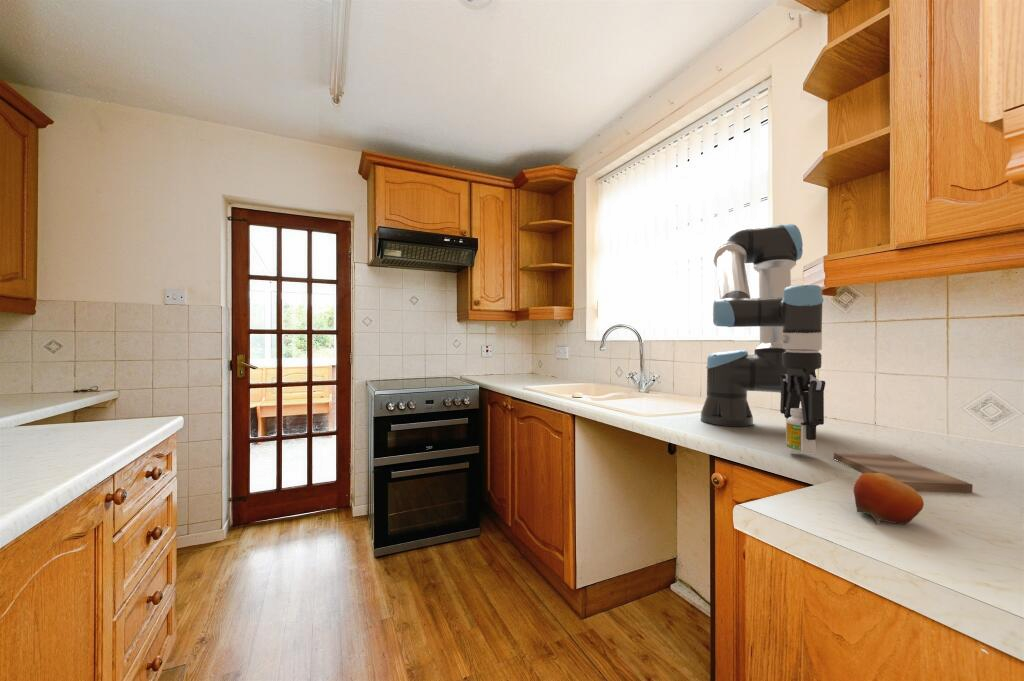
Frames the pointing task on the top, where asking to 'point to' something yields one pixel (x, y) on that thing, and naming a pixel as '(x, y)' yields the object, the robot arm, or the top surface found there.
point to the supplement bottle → (794, 430)
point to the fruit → (886, 498)
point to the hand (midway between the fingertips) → (800, 448)
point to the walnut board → (904, 472)
